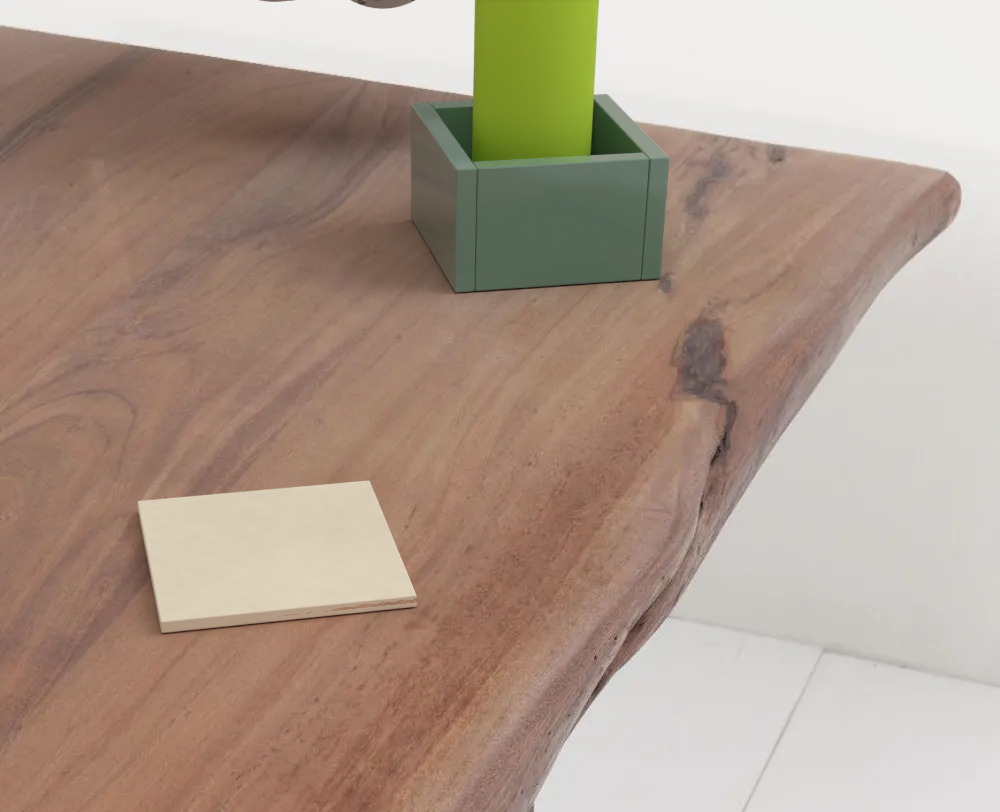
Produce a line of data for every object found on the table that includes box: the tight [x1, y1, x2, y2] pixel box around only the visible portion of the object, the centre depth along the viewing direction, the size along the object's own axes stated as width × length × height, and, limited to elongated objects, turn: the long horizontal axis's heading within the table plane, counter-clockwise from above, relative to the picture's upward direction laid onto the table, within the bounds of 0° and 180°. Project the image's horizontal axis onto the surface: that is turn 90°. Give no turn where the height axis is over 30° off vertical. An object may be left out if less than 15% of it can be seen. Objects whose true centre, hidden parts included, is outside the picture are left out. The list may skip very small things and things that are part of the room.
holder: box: [410, 93, 670, 293], centre depth 94 cm, size 10×10×6 cm
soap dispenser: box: [472, 0, 600, 162], centre depth 90 cm, size 6×7×20 cm
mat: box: [136, 480, 418, 634], centre depth 69 cm, size 9×9×1 cm
